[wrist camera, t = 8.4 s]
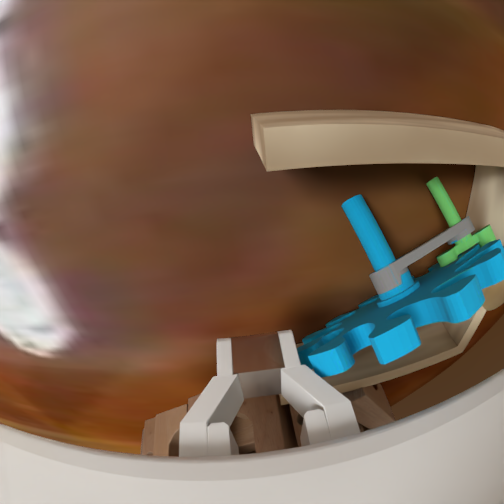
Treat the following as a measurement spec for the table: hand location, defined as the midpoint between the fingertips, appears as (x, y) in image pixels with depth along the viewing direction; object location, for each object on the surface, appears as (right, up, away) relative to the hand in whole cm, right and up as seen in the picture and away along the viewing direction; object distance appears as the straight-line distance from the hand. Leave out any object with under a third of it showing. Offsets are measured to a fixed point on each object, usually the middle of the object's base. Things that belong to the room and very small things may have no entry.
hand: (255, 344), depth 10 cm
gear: (+6, +4, +4) cm, 8 cm away
